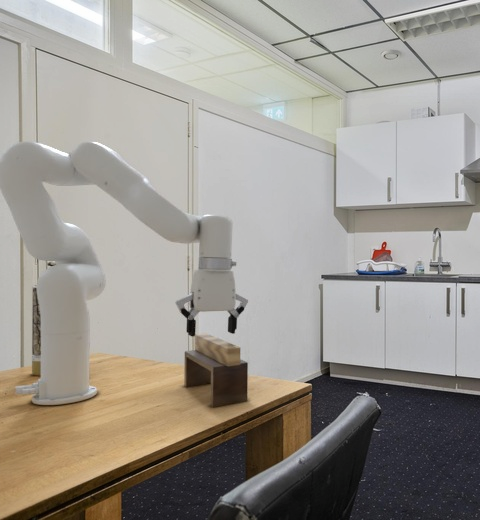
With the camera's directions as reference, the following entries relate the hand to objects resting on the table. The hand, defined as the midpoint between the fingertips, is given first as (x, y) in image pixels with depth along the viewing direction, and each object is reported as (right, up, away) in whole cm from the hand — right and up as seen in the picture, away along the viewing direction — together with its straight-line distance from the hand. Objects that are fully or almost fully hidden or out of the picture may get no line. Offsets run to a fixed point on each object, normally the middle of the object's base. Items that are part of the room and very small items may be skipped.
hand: (212, 334), depth 115 cm
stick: (+1, -6, 0) cm, 6 cm away
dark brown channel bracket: (0, -15, 0) cm, 15 cm away
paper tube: (-53, -14, +17) cm, 58 cm away
